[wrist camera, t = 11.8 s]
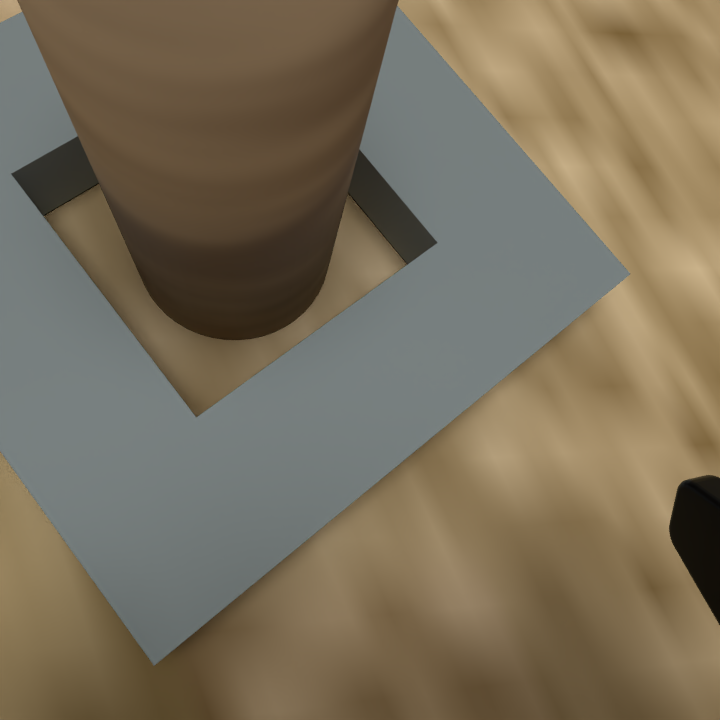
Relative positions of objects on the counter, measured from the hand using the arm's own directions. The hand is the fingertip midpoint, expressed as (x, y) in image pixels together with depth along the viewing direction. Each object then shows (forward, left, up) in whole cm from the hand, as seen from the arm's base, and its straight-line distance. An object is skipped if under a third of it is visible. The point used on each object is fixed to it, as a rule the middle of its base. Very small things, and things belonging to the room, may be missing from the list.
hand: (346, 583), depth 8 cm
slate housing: (+3, +7, -9) cm, 12 cm away
